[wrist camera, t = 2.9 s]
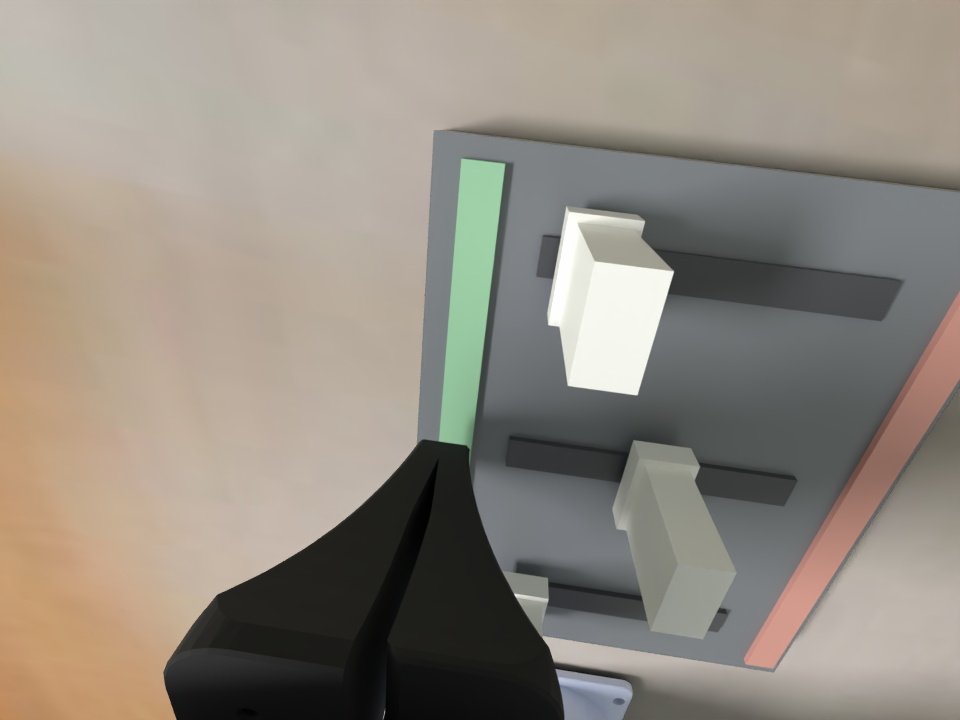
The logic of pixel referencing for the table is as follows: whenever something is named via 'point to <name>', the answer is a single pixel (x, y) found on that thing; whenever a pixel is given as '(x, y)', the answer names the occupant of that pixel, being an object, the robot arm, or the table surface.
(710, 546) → the breaker
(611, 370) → the block
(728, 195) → the breaker panel
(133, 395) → the table surface
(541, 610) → the breaker
